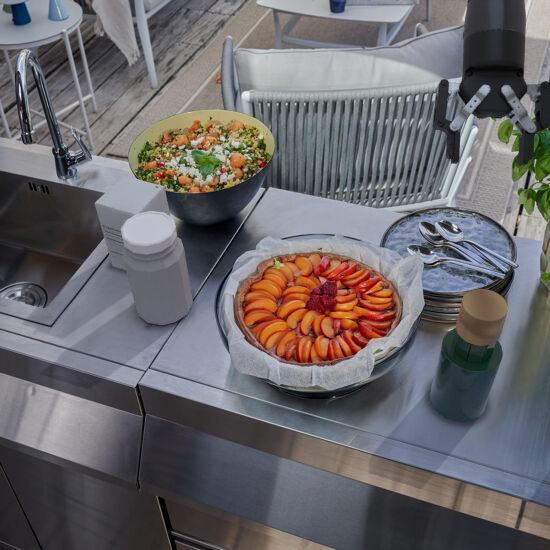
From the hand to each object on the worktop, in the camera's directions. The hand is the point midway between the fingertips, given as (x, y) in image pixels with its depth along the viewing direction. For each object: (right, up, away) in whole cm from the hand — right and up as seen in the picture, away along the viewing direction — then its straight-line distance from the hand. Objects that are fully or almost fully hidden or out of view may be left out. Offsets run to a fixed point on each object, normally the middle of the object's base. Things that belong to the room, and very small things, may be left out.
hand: (489, 163), depth 82 cm
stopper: (-1, -24, +5) cm, 25 cm away
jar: (-46, -20, +28) cm, 58 cm away
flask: (0, -33, +13) cm, 35 cm away
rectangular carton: (-52, -11, +38) cm, 65 cm away
